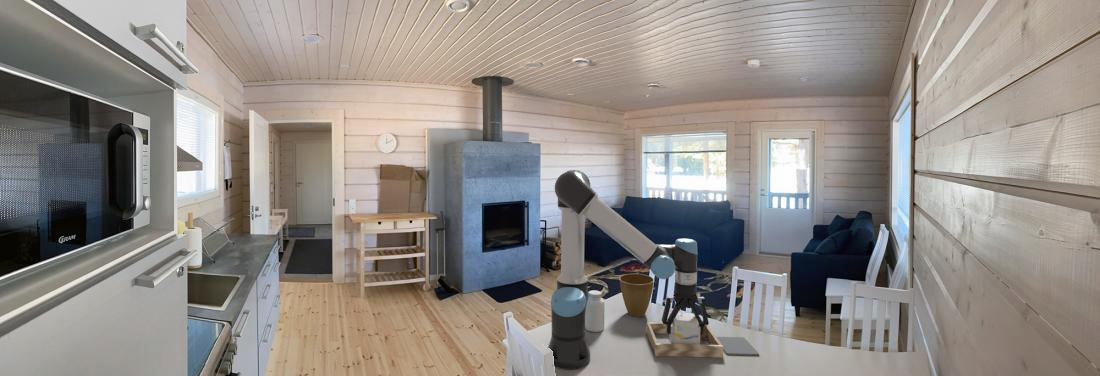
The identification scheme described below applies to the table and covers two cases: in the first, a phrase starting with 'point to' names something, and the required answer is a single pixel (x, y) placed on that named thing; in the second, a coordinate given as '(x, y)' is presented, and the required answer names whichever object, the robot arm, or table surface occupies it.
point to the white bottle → (594, 312)
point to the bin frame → (683, 349)
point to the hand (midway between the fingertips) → (684, 342)
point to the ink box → (685, 329)
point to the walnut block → (703, 337)
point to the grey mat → (737, 346)
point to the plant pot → (636, 293)
